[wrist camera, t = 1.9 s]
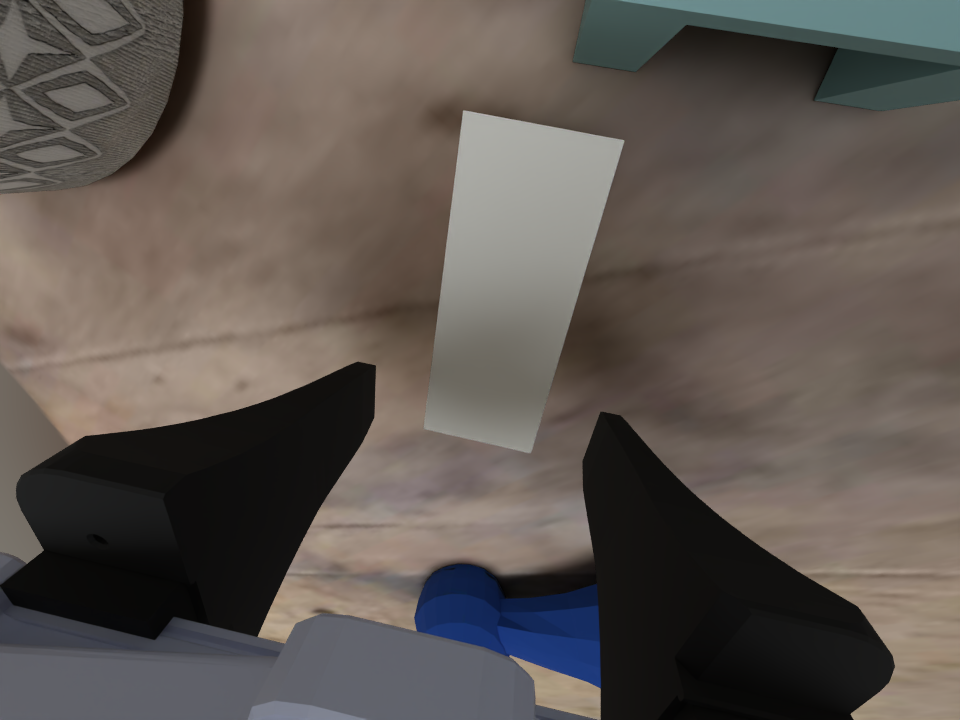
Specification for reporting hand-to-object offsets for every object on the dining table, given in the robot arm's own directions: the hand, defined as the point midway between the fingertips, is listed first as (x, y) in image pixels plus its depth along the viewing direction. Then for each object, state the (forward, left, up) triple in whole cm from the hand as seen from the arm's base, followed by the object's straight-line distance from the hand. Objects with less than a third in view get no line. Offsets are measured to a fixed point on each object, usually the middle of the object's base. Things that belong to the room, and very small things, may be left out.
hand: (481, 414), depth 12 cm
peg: (+2, -2, -5) cm, 6 cm away
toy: (-14, +7, -5) cm, 17 cm away
